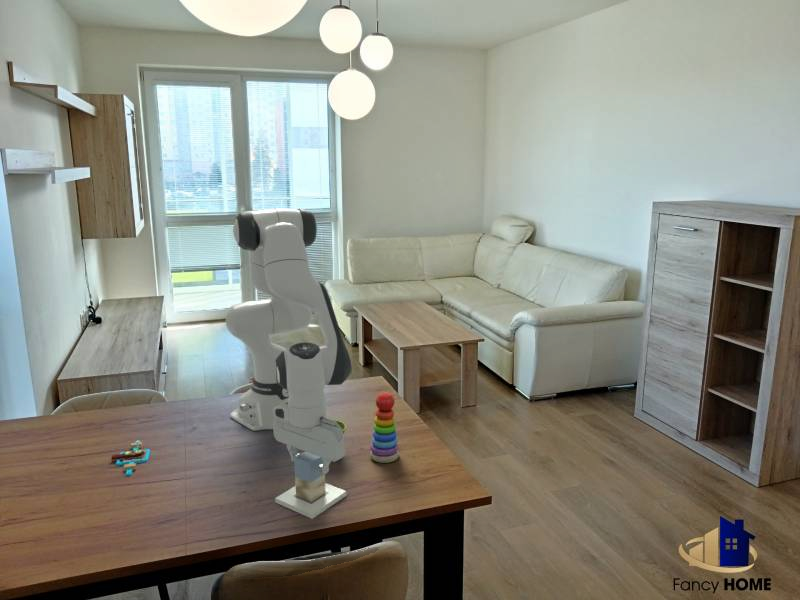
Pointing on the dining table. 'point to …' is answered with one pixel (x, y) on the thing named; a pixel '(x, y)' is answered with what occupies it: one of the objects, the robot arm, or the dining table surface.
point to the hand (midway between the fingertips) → (309, 466)
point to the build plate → (312, 507)
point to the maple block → (310, 488)
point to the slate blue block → (307, 466)
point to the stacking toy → (384, 431)
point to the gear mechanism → (129, 454)
